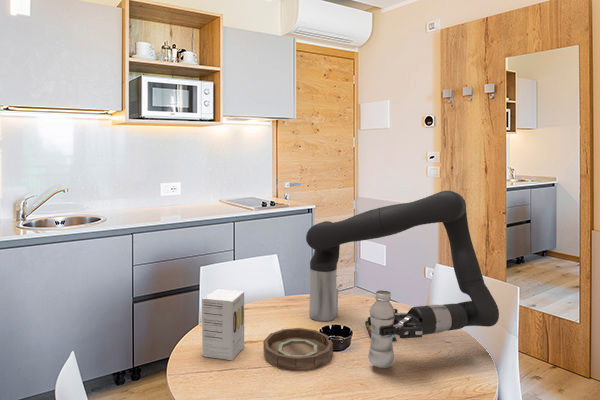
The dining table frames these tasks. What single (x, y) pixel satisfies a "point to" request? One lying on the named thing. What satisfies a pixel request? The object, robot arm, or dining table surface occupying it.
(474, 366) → the dining table surface
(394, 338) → the smartphone
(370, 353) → the plastic bottle
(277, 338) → the walnut tray
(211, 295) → the supplement box
